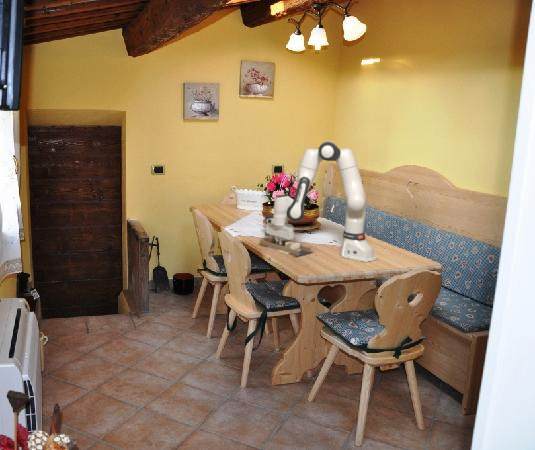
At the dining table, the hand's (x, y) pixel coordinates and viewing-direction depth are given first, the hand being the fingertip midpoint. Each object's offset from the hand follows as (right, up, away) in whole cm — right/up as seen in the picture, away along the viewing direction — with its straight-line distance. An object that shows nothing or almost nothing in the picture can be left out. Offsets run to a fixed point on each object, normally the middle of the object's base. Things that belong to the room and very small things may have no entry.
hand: (278, 244), depth 326 cm
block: (+8, -4, -7) cm, 11 cm away
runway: (+3, -3, -3) cm, 5 cm away
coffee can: (-3, +4, +29) cm, 29 cm away
